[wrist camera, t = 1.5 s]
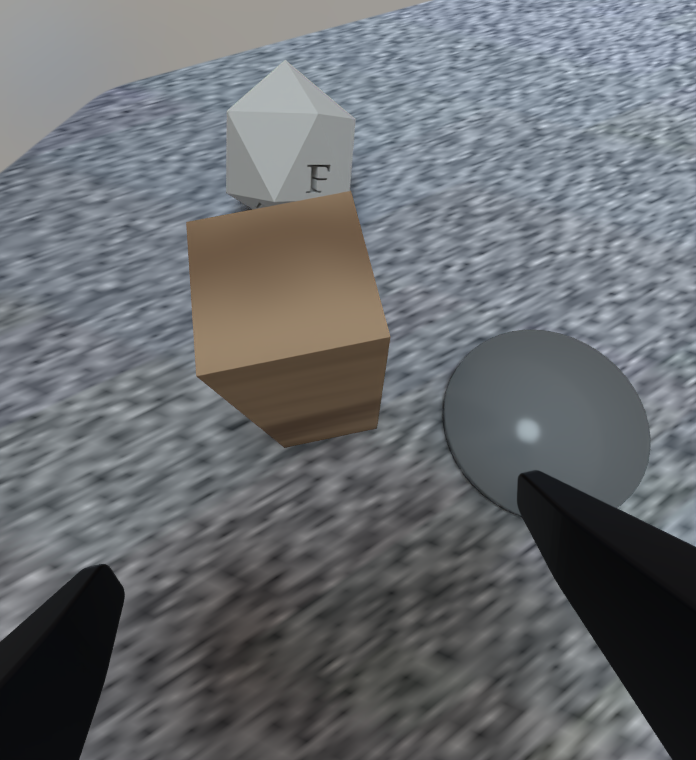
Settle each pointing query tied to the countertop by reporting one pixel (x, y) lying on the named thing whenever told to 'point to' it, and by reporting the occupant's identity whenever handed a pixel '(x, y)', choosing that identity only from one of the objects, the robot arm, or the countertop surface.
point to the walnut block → (290, 317)
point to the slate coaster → (545, 418)
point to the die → (287, 142)
